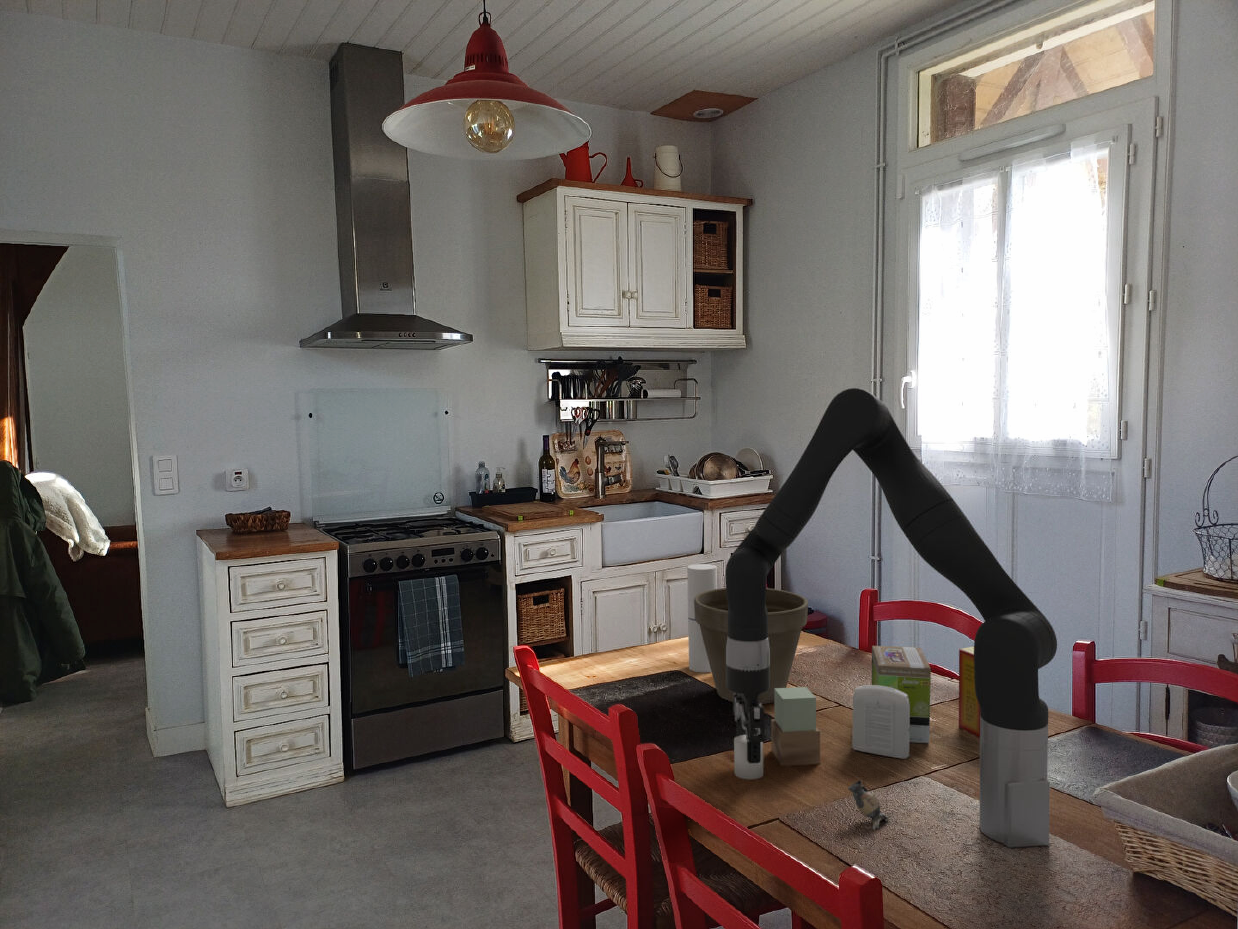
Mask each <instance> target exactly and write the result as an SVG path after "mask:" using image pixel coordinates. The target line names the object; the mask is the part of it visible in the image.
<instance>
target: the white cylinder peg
mask: <svg viewBox="0 0 1238 929" xmlns="http://www.w3.org/2000/svg"><path fill="white" fill-rule="evenodd" d="M733 746H734V747H733V748H734V751H733V752H734V753H733V754H734V756H733V758H734V762H733V763H734V775H735V776H736V777H737V778H739V779H743V780H757V779H760V778H763V777H764V742H761V761H760V762H759V763H749V762H748V761H747V740H746V735H740V736H737V735H736V736H735V737H734V739H733Z"/></svg>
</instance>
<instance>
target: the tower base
mask: <svg viewBox="0 0 1238 929" xmlns="http://www.w3.org/2000/svg"><path fill="white" fill-rule="evenodd" d="M770 723H771V726H770V727H771V729H770V730H771V752H772V754H773V755H774V756H775V758H776V760H777V761H778V762H779V763H778V764H780V766H781V767H782V766H783V767H785V766H786V767H787V766H801V765H802V766H803V765H819V764H821V731H820V730H819V728H818V727H817V726H816V730H814V731H794V732H783V731H782V730H781V728H780V727H779V726H778V724H777V723H776V721H775V718H773V719H771V721H770Z"/></svg>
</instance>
